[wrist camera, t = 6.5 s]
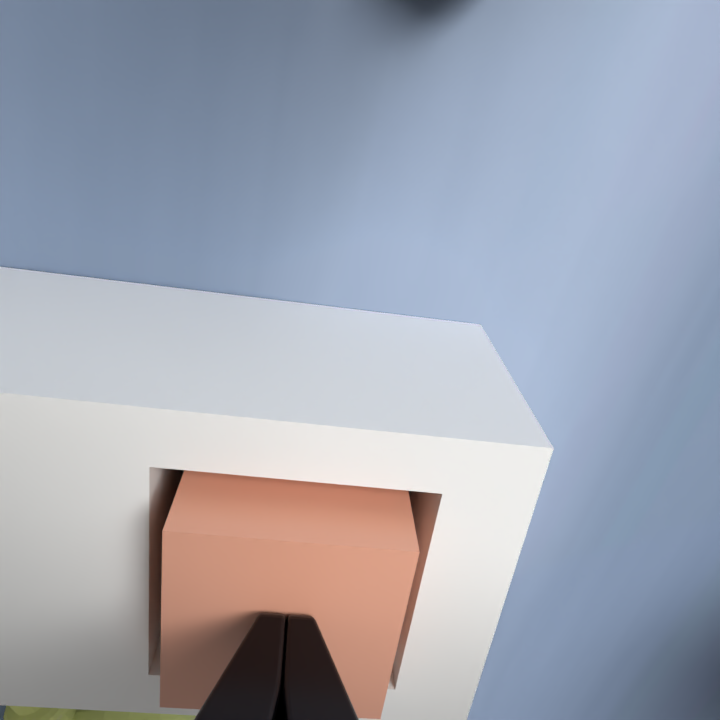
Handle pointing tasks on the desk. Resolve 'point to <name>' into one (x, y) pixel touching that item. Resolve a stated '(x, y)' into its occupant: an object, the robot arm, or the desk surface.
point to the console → (240, 469)
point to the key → (83, 714)
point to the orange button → (283, 577)
